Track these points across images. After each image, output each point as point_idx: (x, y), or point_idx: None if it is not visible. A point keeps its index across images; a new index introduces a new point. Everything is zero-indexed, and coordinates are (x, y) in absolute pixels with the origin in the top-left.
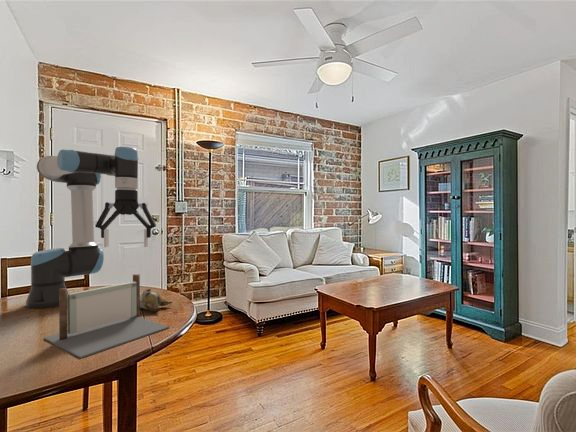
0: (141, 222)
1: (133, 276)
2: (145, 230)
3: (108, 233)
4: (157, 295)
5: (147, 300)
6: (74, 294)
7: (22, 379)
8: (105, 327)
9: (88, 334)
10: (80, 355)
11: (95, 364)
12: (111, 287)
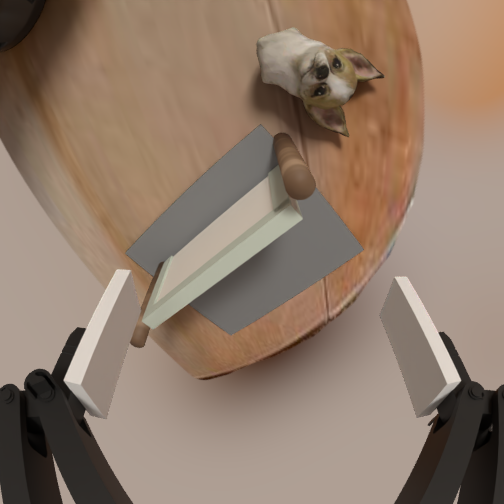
0: (413, 473)
1: (289, 194)
2: (422, 408)
3: (95, 352)
4: (350, 93)
5: (315, 104)
6: (159, 323)
7: (188, 359)
8: None
9: None
10: (229, 332)
11: (257, 348)
12: (228, 272)
